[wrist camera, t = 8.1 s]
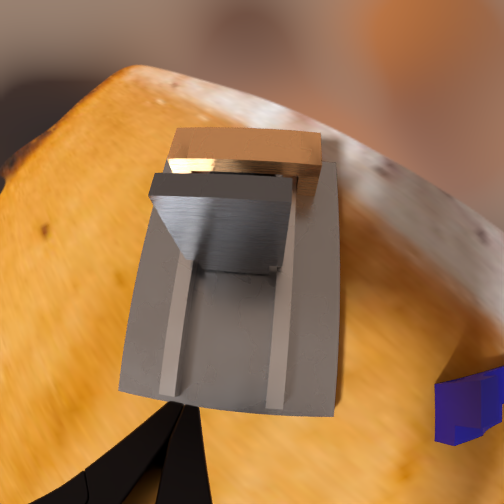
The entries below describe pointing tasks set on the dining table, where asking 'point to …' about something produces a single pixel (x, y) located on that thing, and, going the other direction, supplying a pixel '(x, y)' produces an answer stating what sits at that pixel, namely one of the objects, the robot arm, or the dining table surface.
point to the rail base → (243, 292)
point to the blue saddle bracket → (468, 406)
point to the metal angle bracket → (226, 217)
